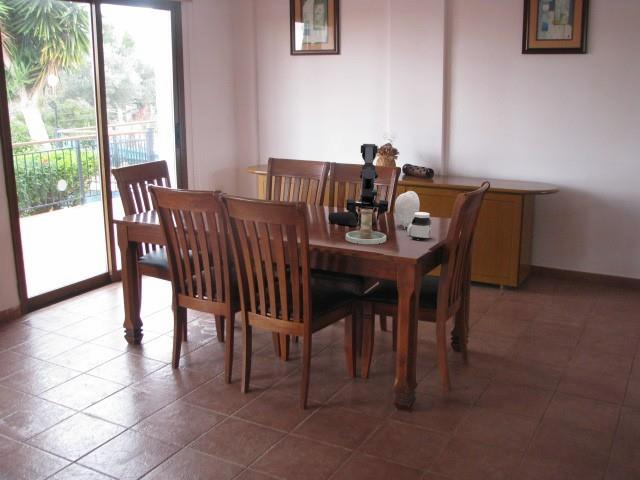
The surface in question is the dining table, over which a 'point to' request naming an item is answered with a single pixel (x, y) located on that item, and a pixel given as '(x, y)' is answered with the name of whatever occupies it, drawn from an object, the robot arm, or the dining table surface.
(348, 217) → the drinking cup
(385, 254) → the dining table surface
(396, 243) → the dining table surface
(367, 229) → the bead tower
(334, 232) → the dining table surface
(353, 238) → the round tray
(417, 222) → the spread jar
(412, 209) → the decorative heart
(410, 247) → the dining table surface
